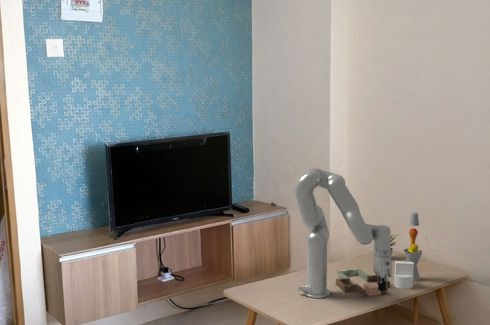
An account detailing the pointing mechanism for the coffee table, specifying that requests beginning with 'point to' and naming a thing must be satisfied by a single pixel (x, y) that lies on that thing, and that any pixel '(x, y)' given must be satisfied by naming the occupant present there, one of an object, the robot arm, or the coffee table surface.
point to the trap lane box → (347, 287)
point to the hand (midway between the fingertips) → (381, 290)
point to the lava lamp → (413, 247)
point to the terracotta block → (372, 289)
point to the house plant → (392, 243)
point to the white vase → (403, 274)
